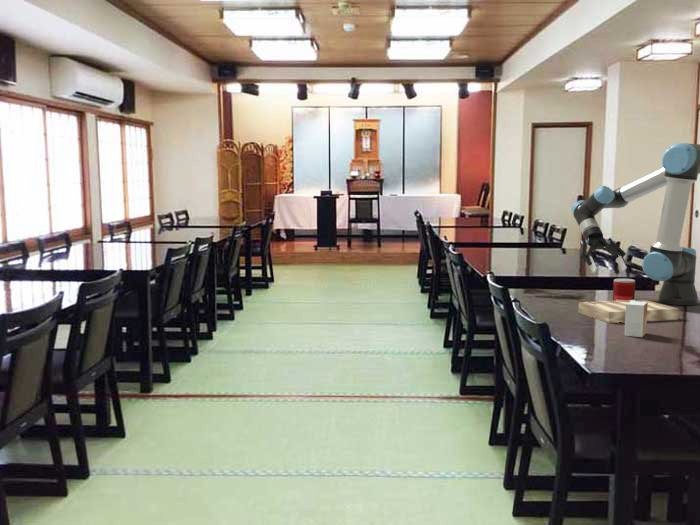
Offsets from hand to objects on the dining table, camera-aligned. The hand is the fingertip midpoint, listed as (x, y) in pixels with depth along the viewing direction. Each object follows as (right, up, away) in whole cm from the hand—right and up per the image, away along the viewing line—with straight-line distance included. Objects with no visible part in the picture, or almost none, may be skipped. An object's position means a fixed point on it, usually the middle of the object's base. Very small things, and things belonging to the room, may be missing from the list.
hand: (610, 270), depth 279 cm
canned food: (+2, -15, -8) cm, 17 cm away
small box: (-13, -21, -57) cm, 62 cm away
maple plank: (-4, -17, -26) cm, 31 cm away
